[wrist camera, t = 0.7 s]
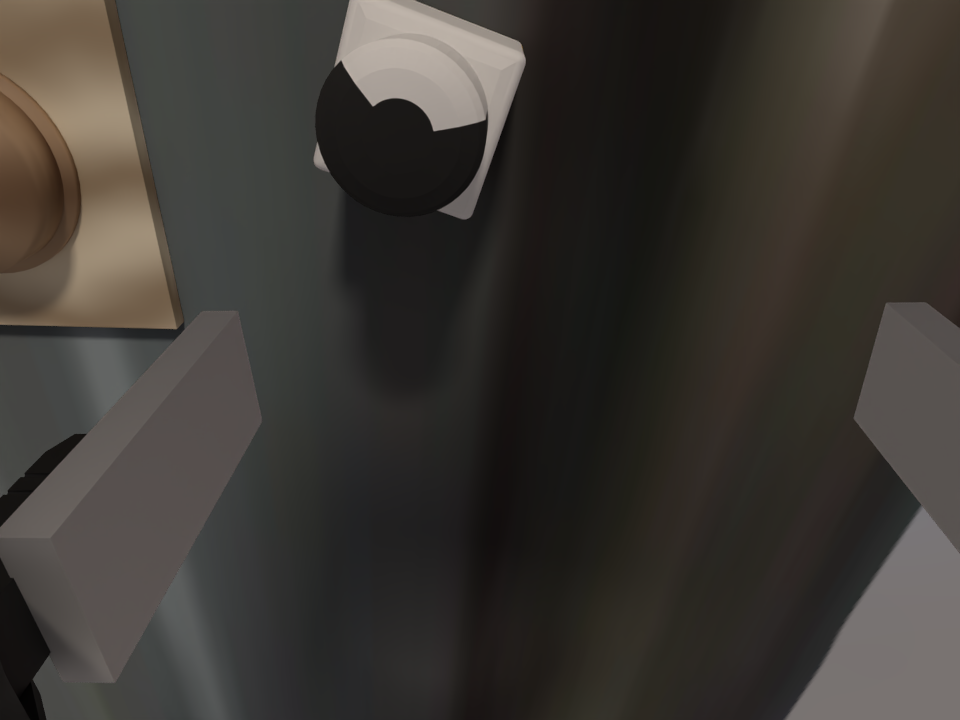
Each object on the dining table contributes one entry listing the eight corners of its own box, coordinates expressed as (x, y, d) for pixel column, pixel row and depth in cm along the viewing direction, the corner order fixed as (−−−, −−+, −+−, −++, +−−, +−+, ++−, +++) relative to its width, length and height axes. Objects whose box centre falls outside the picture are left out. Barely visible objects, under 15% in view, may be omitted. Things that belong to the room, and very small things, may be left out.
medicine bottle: (476, 183, 36) (463, 263, 25) (345, 136, 35) (275, 198, 25) (524, 43, 33) (533, 68, 22) (381, -13, 32) (319, -15, 21)
